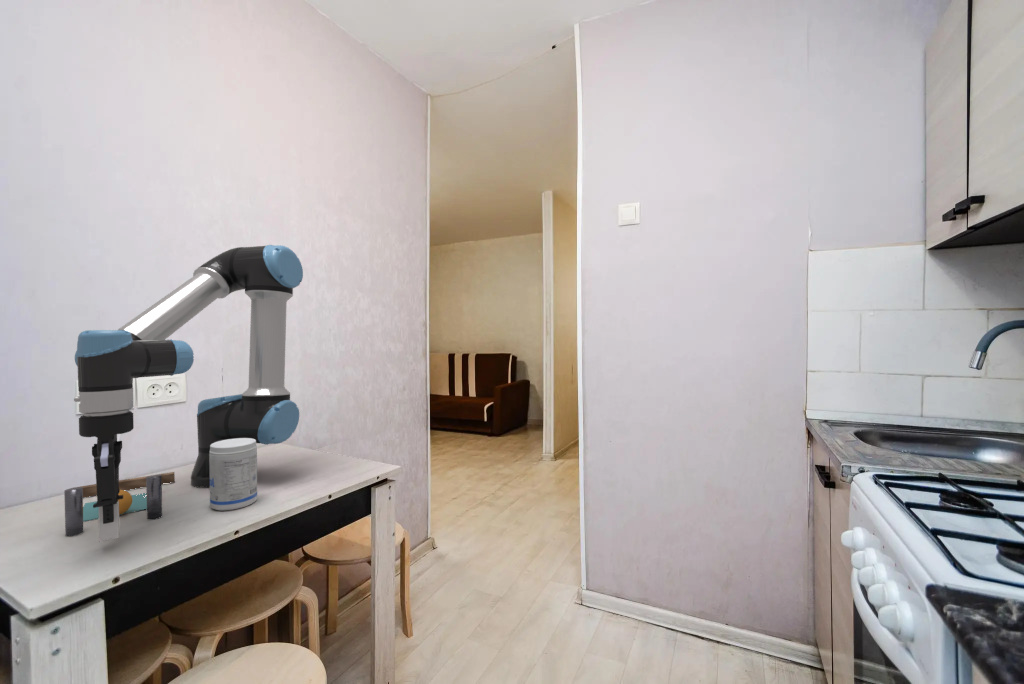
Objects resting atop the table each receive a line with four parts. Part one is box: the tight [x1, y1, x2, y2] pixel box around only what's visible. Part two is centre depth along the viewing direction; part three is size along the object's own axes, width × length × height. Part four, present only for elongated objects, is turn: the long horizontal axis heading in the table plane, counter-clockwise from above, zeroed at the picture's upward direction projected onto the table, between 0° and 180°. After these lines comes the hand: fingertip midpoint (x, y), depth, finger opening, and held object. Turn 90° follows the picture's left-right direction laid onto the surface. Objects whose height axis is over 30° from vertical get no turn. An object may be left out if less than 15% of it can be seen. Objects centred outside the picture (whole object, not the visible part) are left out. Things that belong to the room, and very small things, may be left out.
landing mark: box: [83, 492, 147, 523], centre depth 104 cm, size 14×14×1 cm
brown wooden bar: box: [73, 471, 176, 498], centre depth 115 cm, size 20×2×2 cm, turn 128°
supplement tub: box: [209, 438, 258, 512], centre depth 104 cm, size 10×10×15 cm
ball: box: [118, 490, 132, 516], centre depth 98 cm, size 6×6×6 cm
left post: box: [63, 486, 84, 538], centre depth 89 cm, size 3×3×9 cm
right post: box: [145, 474, 163, 520], centre depth 97 cm, size 3×3×9 cm
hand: (109, 537), depth 83 cm, fingers closed
